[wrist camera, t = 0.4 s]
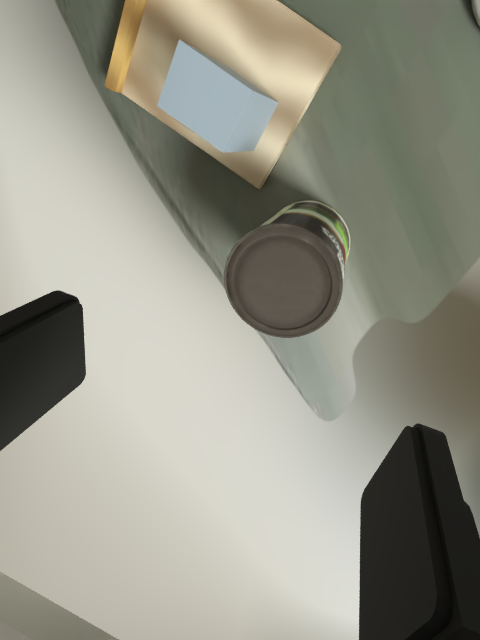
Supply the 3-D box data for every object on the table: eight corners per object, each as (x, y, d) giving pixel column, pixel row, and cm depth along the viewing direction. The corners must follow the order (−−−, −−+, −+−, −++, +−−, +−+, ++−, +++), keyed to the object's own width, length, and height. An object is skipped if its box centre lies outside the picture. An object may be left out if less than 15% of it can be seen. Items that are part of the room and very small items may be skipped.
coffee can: (342, 188, 37) (330, 209, 25) (356, 277, 40) (351, 332, 28) (255, 211, 41) (208, 239, 29) (275, 290, 44) (241, 343, 33)
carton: (221, 62, 34) (179, 39, 26) (278, 102, 34) (252, 90, 26) (199, 116, 37) (155, 109, 29) (252, 153, 36) (221, 156, 29)
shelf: (165, -75, 32) (146, -95, 29) (341, 48, 31) (339, 39, 29) (121, 88, 39) (103, 84, 37) (261, 187, 39) (254, 190, 36)
